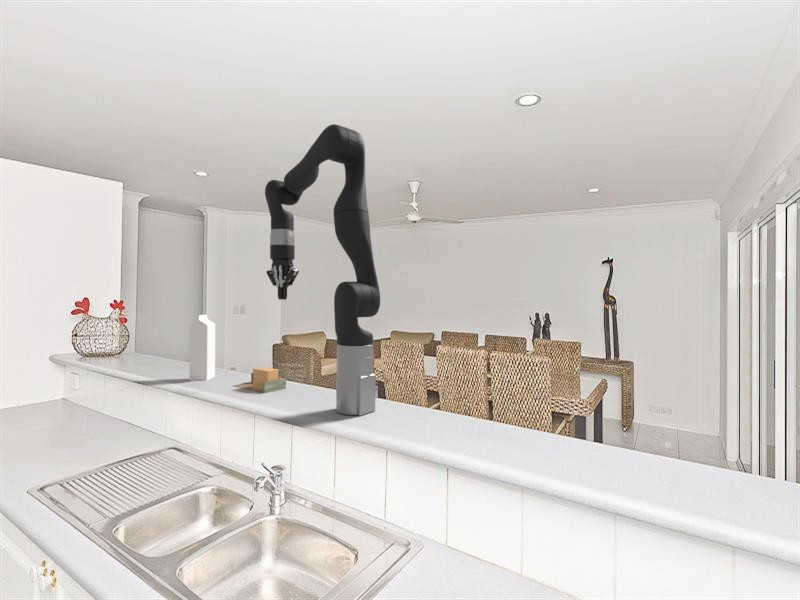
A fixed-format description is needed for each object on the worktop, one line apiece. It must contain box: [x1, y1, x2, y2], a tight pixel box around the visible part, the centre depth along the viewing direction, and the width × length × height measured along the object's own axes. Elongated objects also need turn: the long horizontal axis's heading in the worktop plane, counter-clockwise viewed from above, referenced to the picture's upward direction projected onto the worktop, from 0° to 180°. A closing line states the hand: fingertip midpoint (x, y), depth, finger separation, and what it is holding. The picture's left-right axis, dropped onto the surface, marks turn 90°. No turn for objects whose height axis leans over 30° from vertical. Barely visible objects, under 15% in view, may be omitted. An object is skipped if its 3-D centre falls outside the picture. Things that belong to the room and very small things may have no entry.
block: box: [252, 366, 280, 390], centre depth 137 cm, size 7×4×6 cm, turn 55°
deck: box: [233, 372, 287, 394], centre depth 139 cm, size 16×8×4 cm, turn 55°
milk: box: [189, 314, 216, 382], centre depth 151 cm, size 6×6×22 cm
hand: (282, 299), depth 142 cm, fingers closed
